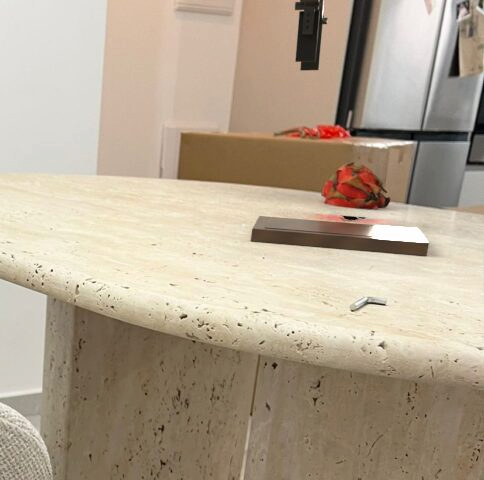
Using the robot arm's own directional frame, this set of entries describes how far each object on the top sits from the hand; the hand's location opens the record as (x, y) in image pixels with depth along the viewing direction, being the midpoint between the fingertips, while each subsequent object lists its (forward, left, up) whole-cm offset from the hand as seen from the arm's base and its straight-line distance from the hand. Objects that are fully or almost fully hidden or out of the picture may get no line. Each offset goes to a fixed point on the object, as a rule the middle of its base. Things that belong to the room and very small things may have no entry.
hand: (307, 66), depth 140 cm
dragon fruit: (-9, +5, -21) cm, 24 cm away
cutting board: (-7, +31, -21) cm, 38 cm away
